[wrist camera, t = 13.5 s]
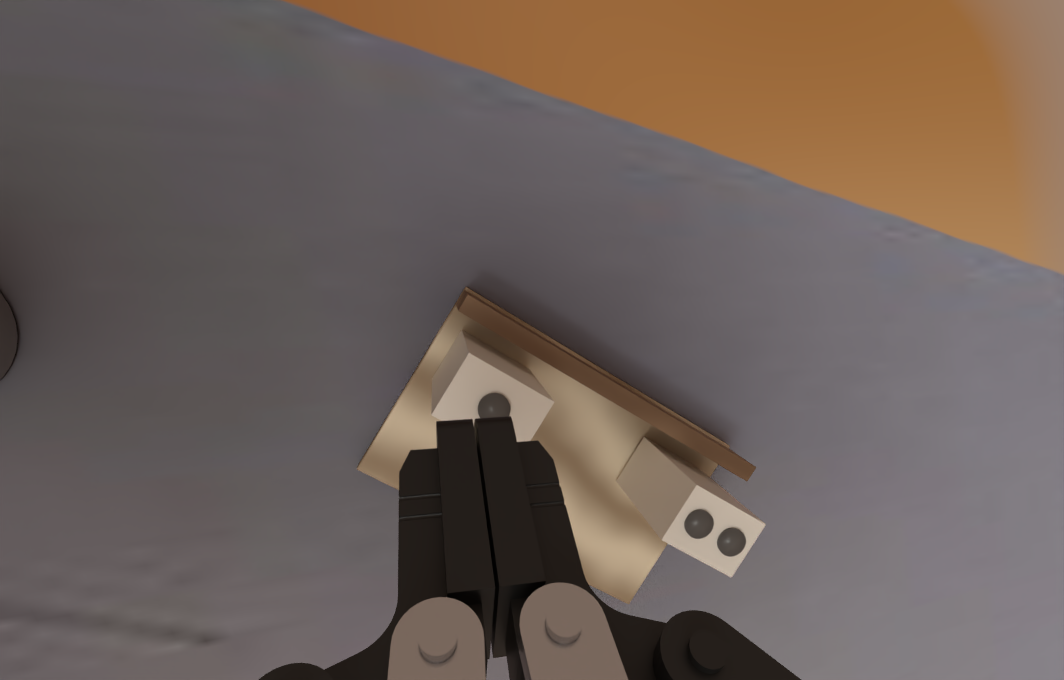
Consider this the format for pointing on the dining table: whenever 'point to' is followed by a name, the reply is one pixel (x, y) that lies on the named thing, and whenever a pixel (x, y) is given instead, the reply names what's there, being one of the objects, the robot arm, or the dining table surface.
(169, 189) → the dining table surface
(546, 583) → the robot arm
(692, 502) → the key two
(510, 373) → the key one
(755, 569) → the dining table surface
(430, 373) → the console
